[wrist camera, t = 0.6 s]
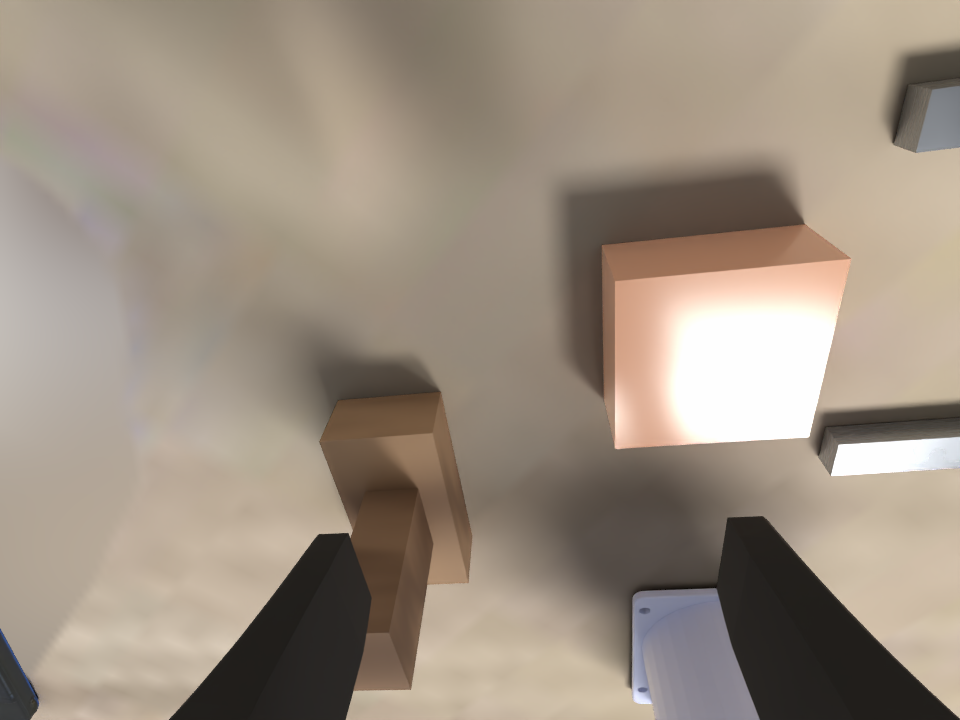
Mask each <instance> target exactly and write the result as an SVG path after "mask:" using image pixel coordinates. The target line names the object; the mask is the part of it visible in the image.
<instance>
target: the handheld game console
mask: <svg viewBox="0 0 960 720" xmlns="http://www.w3.org/2000/svg"><path fill="white" fill-rule="evenodd" d="M38 706H39V702H38V699H37V697H36V695H35V693H34V691H33V689H32V687H31V685H30V683H29V681H28V679H27V677H26V675H25V673H24V672H23V670H22V668H21V666H20V664H19V662H18V661H17V659H16V657H15V655H14V653H13V651H12V650H11V647H10V646H9V644H8V642H7V640H6V638H5V637H4V634H3V633H2V631H1V629H0V720H30V719H31V718H32V716H33V715H34V713H35V712H36V711H37V709H38Z"/></svg>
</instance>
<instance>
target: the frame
mask: <svg viewBox="0 0 960 720" xmlns="http://www.w3.org/2000/svg"><path fill="white" fill-rule="evenodd" d="M894 145H895V146H898V147H901V148H904V149H907V150H909V151H912V152H915V153H918V152H926V151H935V150H943V149H951V148H959V147H960V78H955V79H948V80H940V81H933V82H926V83H919V84H911V85H908V88H907V92H906V96H905V100H904V104H903V108H902V113H901V117H900V121H899V125H898V129H897V133H896V137H895V142H894ZM819 459H820V460H821V462H822V463H823V465H824V466H825V468H826V469H827V471H828V472H829V474H830V475H831V476H838V475H855V474H871V473H888V472H905V471H921V470H938V469H955V468H960V418H948V419H934V420H919V421H905V422H891V423H877V424H862V425H848V426H834V427H826V428H825V432H824V437H823V441H822V445H821V449H820V453H819Z"/></svg>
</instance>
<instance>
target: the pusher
mask: <svg viewBox="0 0 960 720" xmlns="http://www.w3.org/2000/svg"><path fill="white" fill-rule="evenodd" d="M319 442H320V445H321V448H322V450H323V453H324V455H325V458H326V461H327V463H328V466H329V469H330V471H331V474H332V476H333V479H334V482H335V484H336V487H337V489H338V492H339V495H340V497H341V500H342V503H343V505H344V508H345V510H346V513H347V516H348V518H349V521H350V523H351V526H352V529H353V532H352V535H351V538H350V539H351V542H352V545H353V547H354V550H355V553H356V556H357V558H358V561H359V564H360V567H361V569H362V572H363V575H364V578H365V580H366V583H367V586H368V589H369V591H370V594H371V597H372V600H371V607H370V614H369V621H368V628H367V634H366V640H365V646H364V652H363V656H362V660H361V664H360V668H359V671H358V675H357V679H356V683H355V686H354V690H353V691H358V690H411V686H412V680H413V673H414V667H415V660H416V654H417V647H418V641H419V634H420V628H421V621H422V615H423V608H424V602H425V596H426V589H427V585H428V584H453V583H468V582H469V570H470V558H471V546H472V533H471V528H470V523H469V519H468V514H467V510H466V505H465V501H464V496H463V491H462V487H461V482H460V478H459V473H458V468H457V464H456V459H455V455H454V450H453V446H452V441H451V436H450V432H449V427H448V423H447V418H446V413H445V409H444V404H443V400H442V395H441V392H432V393H420V394H408V395H396V396H384V397H372V398H360V399H348V400H338V402H337V404H336V406H335V408H334V410H333V413H332V415H331V417H330V419H329V421H328V423H327V426H326V428H325V430H324V432H323V434H322V437H321V439H320V441H319Z"/></svg>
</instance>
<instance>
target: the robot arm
mask: <svg viewBox="0 0 960 720" xmlns="http://www.w3.org/2000/svg"><path fill="white" fill-rule="evenodd" d="M371 600H372V597H371V594H370V591H369V589H368V586H367V583H366V580H365V578H364V575H363V572H362V569H361V567H360V564H359V561H358V558H357V556H356V553H355V550H354V547H353V545H352V542H351V539H350V536H349V534H348V533H339V534H319V535H318V536H317V537H316V538H315V539H314V541H313V542H312V543H311V545H310V546H309V547H308V549H307V550H306V551H305V553H304V554H303V555H302V557H301V558H300V560H299V561H298V562H297V564H296V565H295V566H294V568H293V569H292V570H291V572H290V573H289V574H288V576H287V577H286V578H285V580H284V581H283V582H282V584H281V585H280V586H279V588H278V589H277V590H276V592H275V593H274V594H273V596H272V597H271V598H270V600H269V601H268V602H267V604H266V605H265V606H264V607H263V609H262V610H261V611H260V613H259V614H258V615H257V616H256V618H255V619H254V620H253V622H252V623H251V624H250V625H249V627H248V628H247V629H246V630H245V632H244V633H243V634H242V636H241V637H240V638H239V639H238V641H237V642H236V643H235V644H234V646H233V647H232V648H231V649H230V650H229V652H228V653H227V654H226V655H225V656H224V657H223V659H222V660H221V661H220V662H219V663H218V665H217V666H216V667H215V668H214V669H213V670H212V672H211V673H210V674H209V675H208V676H207V678H206V679H205V680H204V681H203V682H202V683H201V685H200V686H199V687H198V688H197V689H196V690H195V692H194V693H193V694H192V695H191V696H190V697H189V698H188V699H187V700H186V702H185V703H184V704H183V705H182V706H181V707H180V708H179V709H178V710H177V712H176V713H175V714H174V715H173V716H172V717H171V718H170V719H169V720H346V716H347V712H348V709H349V705H350V701H351V698H352V694H353V690H354V686H355V683H356V679H357V675H358V671H359V668H360V664H361V660H362V656H363V652H364V646H365V640H366V634H367V628H368V621H369V614H370V607H371ZM632 697H633V701H635V702H636V703H639V704H652V705H653V710H654V715H655V720H960V718H958V717H957V716H956V715H955V714H954V713H953V712H952V711H951V710H950V709H949V708H947V707H946V706H945V705H944V704H943V703H942V702H941V701H940V700H939V699H938V698H937V697H936V696H934V695H933V694H932V693H931V692H930V691H929V690H928V689H927V688H926V687H925V686H924V685H923V684H922V683H921V682H920V681H919V680H917V679H916V678H915V677H914V676H913V675H912V674H911V673H910V672H909V671H908V670H907V669H906V668H905V667H904V666H903V665H902V664H901V663H900V662H899V661H898V660H897V659H896V658H895V657H894V656H893V655H892V654H891V653H890V652H889V651H888V650H887V649H886V648H885V647H884V646H883V645H882V644H881V643H880V642H879V641H878V640H877V639H876V638H875V637H874V636H873V635H872V634H871V633H870V632H869V631H868V630H867V629H866V628H865V627H864V626H863V625H862V624H861V623H860V622H859V621H858V620H857V619H856V618H855V617H854V616H853V615H852V614H851V613H850V612H849V611H848V609H847V608H846V607H845V606H844V605H843V604H842V603H841V602H840V601H839V600H838V599H837V598H836V597H835V596H834V595H833V594H832V593H831V591H830V590H829V589H828V588H827V587H826V586H825V585H824V584H823V583H822V582H821V581H820V579H819V578H818V577H817V576H816V575H815V574H814V573H813V572H812V571H811V569H810V568H809V567H808V566H807V565H806V564H805V563H804V562H803V561H802V559H801V558H800V557H799V556H798V555H797V554H796V553H795V551H794V550H793V549H792V548H791V547H790V546H789V545H788V543H787V542H786V541H785V540H784V539H783V538H782V536H781V535H780V534H779V533H778V532H777V531H776V530H775V528H774V527H773V526H772V525H771V524H770V522H769V521H768V520H767V519H765V518H764V517H763V516H757V517H733V518H727V525H726V531H725V538H724V544H723V550H722V557H721V563H720V569H719V576H718V582H717V588H707V589H680V590H654V591H640V592H637V593H636V594H635V595H634V596H633V601H632Z"/></svg>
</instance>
